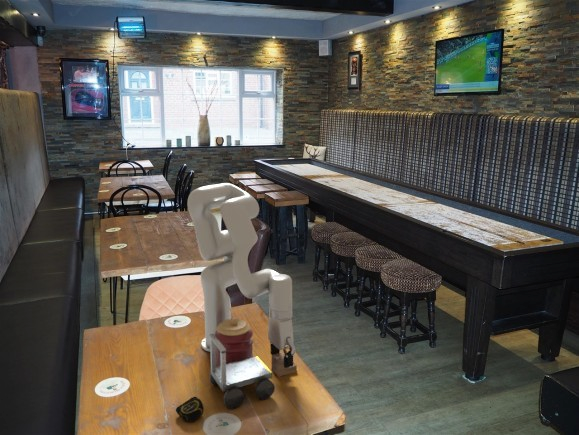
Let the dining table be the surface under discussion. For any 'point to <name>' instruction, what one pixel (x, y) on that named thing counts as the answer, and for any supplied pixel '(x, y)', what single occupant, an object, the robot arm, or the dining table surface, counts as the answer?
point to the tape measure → (190, 409)
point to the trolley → (238, 376)
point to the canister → (234, 340)
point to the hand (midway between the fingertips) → (281, 360)
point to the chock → (281, 365)
